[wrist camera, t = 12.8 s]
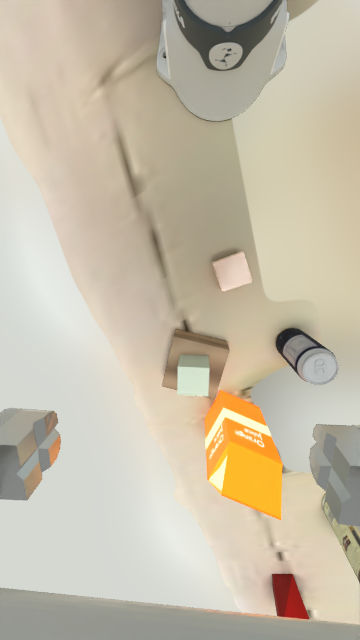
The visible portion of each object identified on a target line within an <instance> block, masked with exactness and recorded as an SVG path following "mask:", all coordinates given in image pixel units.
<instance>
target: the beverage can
mask: <svg viewBox="0 0 360 640" xmlns="http://www.w3.org/2000/svg"><path fill="white" fill-rule="evenodd" d="M276 347H277V350H278V352H279V353H280V354H281V355H282V356H283V358H284V359H285V360H286V361H287V362H288V364H289V365H290V366H291V367H292V368H293V369H294V371H295V372H296V373H297V374H298V375H299V376H300V377H301V378H302V379H303V380H304V381H306V382H309V383H311V384H315V385H323V384H326V383H329V382H330V381H332V380H333V379H334V378H335V377H336V375H337V373H338V369H339V367H338V362H337V360H336V358H335V356H334V354H333V353H332V352H331V351H329V350H328V349H327V348H325V347H324V346H322V345H321V344H320V343H318V342H317V341H315V340H314V339H313V338H311V337H310V336H308V335H307V334H306V333H304V332H303V331H301V330H299V329H294V328H292V329H287V330H285V331H283V332H282V333H281V334H280V335H279V336H278V338H277V341H276Z"/></svg>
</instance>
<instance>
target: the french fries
mask: <svg viewBox="0 0 360 640" xmlns="http://www.w3.org/2000/svg"><path fill="white" fill-rule="evenodd" d="M272 577H273V592H274V598H275V605H276V611H277V616H279V617H288V618H298V619H308V620H310V619H309V616H308V614H307V611H306V609H305V606H304V603H303V601H302V598H301V595H300V593H299V590H298V587H297V585H296V582H295V579H294V577H293V574H272Z"/></svg>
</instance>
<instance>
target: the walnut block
mask: <svg viewBox="0 0 360 640" xmlns="http://www.w3.org/2000/svg"><path fill="white" fill-rule="evenodd" d="M228 353H229V347H228V344H227V341H224V340H220V339H216V338H211V337H207V336H203V335H199V334H195V333H191V332H187V331H183V330H179V329H176V330H175V334H174V337H173V341H172V345H171V349H170V354H169V358H168V362H167V366H166V370H165V375H164V379H163V383H162V386H163V387H167V388H171V389H175V390H177V382H178V363H179V358H180V354H181V355H204V356H209V367H210V370H209V391H208V397H207V398H211V399H215V396H216V393H217V389H218V386H219V383H220V380H221V376H222V373H223V370H224V367H225V363H226V360H227V357H228ZM203 397H206V396H203Z"/></svg>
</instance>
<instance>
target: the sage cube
mask: <svg viewBox="0 0 360 640" xmlns="http://www.w3.org/2000/svg"><path fill="white" fill-rule="evenodd" d="M209 370H210V367H209V356H204V355H181V354H180V358H179V363H178V382H177V395H188V396H206V397H208V391H209Z"/></svg>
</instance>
